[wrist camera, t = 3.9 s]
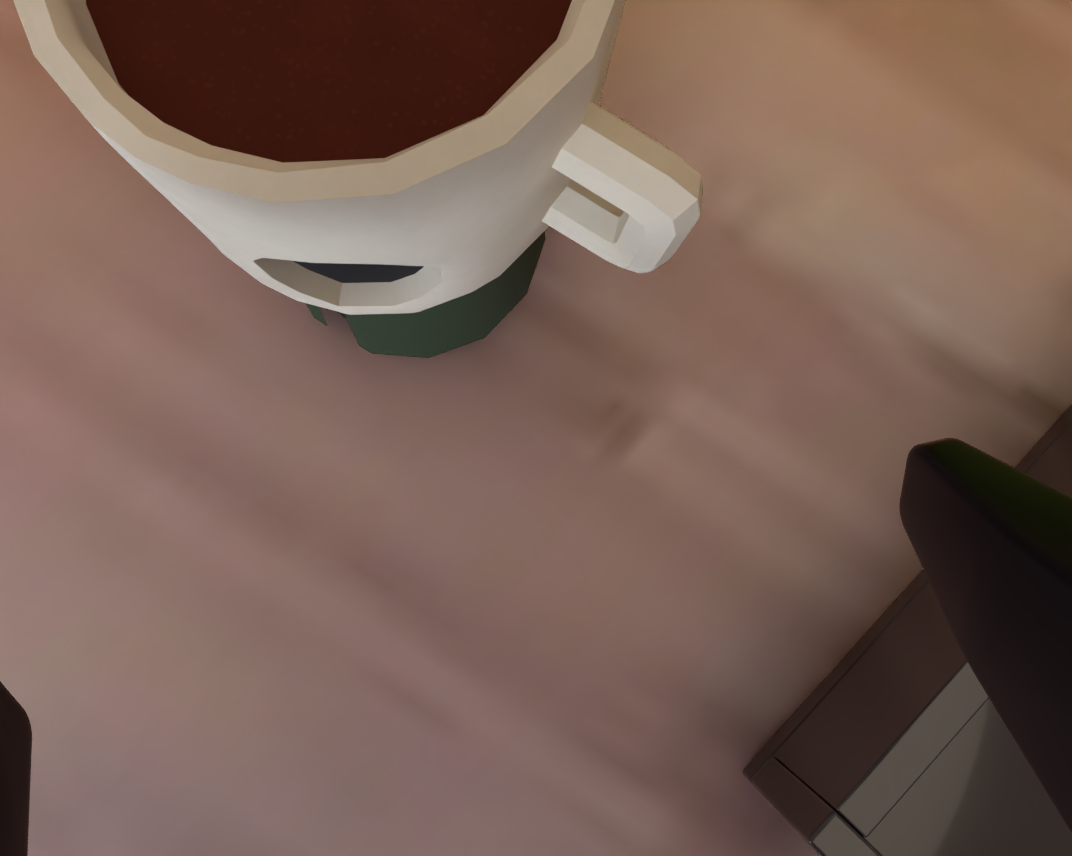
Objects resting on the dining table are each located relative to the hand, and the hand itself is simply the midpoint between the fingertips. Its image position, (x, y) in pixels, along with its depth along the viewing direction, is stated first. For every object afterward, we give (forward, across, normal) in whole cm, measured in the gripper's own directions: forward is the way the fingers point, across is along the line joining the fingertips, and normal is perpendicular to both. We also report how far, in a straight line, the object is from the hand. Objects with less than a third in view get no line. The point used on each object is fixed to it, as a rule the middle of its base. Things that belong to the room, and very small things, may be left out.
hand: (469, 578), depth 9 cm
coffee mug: (+15, 0, +4) cm, 16 cm away
